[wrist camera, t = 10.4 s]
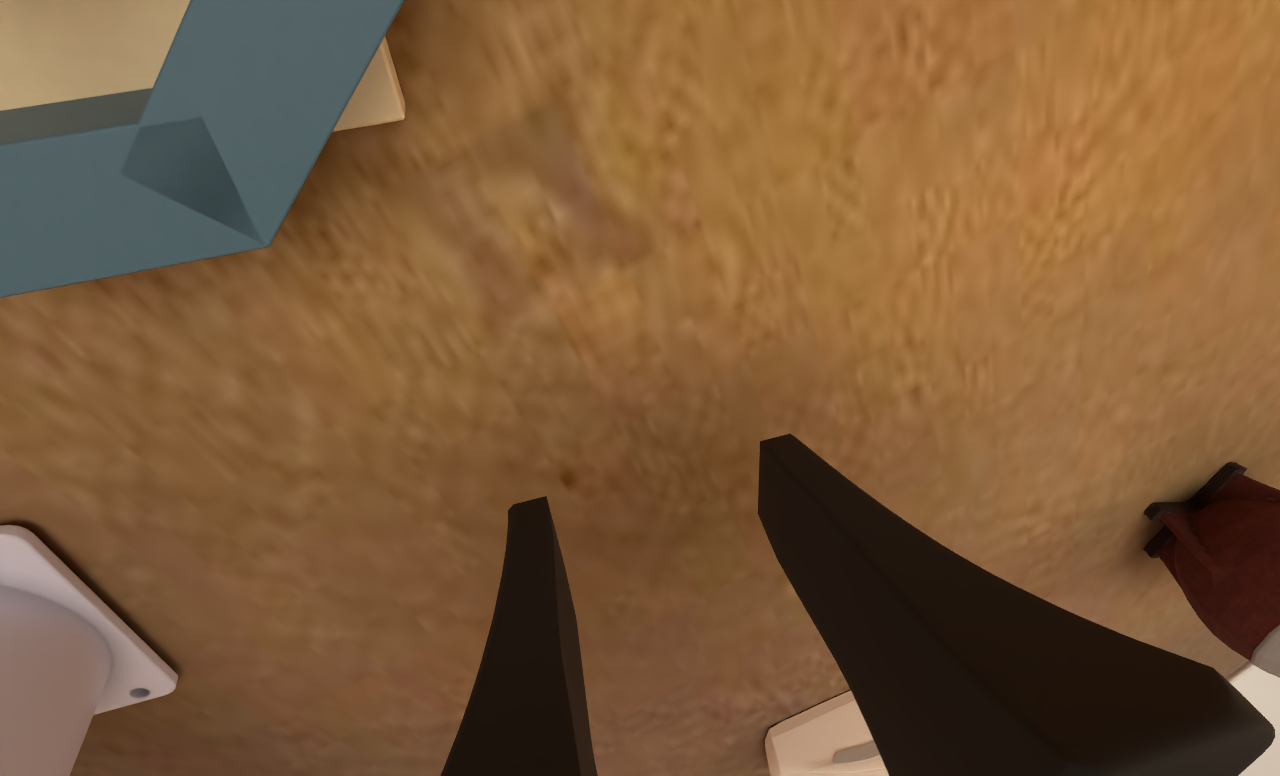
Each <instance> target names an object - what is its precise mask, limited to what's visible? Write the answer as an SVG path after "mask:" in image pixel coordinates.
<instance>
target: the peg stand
mask: <svg viewBox="0 0 1280 776" xmlns="http://www.w3.org/2000/svg"><path fill="white" fill-rule="evenodd" d="M189 2H190V0H0V111H2V110H9V109H16V108H22V107H29V106H35V105H42V104H49V103H55V102H62V101H69V100H75V99H82V98H88V97H95V96H102V95H108V94H115V93H121V92H128V91H135V90H141V89H148V88H153V86H154V83H155V81H156V79H157V76H158V74H159V72H160V69H161V67H162V65H163V62H164V60H165V58H166V55H167V53H168V51H169V48H170V46H171V44H172V41H173V39H174V37H175V34H176V32H177V30H178V28H179V25H180V23H181V21H182V18H183V16H184V14H185V11H186V9H187V7H188V4H189ZM404 117H405V101H404V98H403V95H402V91H401V88H400V85H399V81H398V78H397V74H396V71H395V68H394V64H393V61H392V58H391V54H390V51H389V47H388V44H387V41H386V37H384V39H383V40H382V42H381V44H380V46H379V48H378V50H377V51H376V53H375V55H374V57H373V59H372V60H371V62H370V64H369V66H368V68H367V70H366V71H365V73H364V75H363V77H362V79H361V81H360V82H359V84H358V86H357V88H356V90H355V91H354V93H353V95H352V97H351V99H350V101H349V102H348V104H347V106H346V108H345V110H344V112H343V113H342V115H341V117H340V119H339V121H338V122H337V124H336V126H335V128H334V130H333V132H334V131H340V130H346V129H352V128H358V127H364V126H370V125H376V124H382V123H388V122H394V121H400V120H403V119H404Z"/></svg>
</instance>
